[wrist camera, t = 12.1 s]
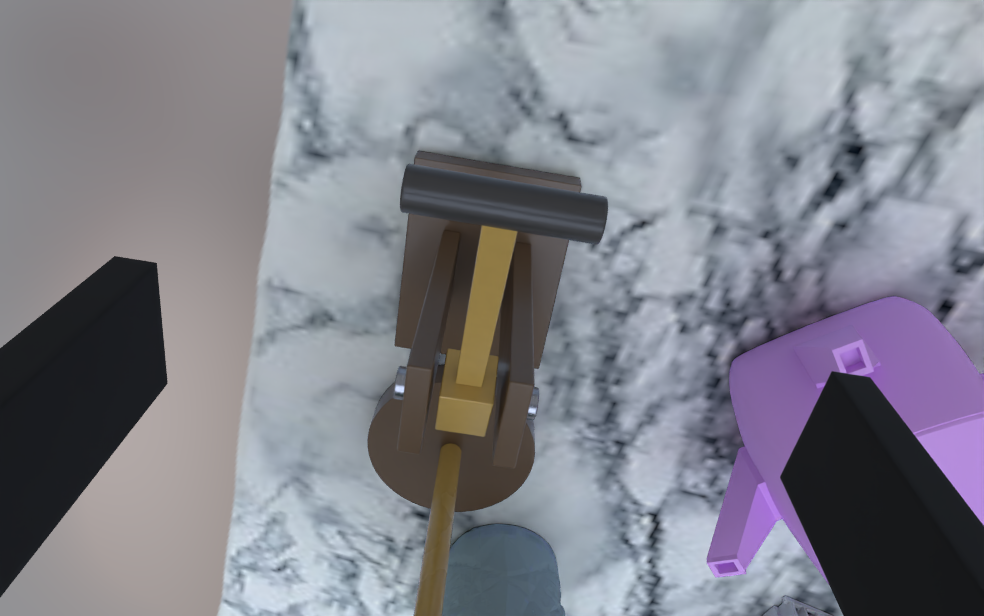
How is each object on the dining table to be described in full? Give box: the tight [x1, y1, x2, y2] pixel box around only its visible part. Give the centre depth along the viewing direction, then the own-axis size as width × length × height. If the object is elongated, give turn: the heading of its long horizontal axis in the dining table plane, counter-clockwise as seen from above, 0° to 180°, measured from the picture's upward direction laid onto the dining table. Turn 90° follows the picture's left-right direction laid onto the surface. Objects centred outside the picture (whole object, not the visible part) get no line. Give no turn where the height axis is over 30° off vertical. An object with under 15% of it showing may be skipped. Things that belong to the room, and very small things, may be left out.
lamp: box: [368, 365, 535, 616], centre depth 34 cm, size 13×13×28 cm
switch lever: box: [400, 164, 608, 437], centre depth 25 cm, size 13×6×2 cm, turn 172°
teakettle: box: [707, 296, 984, 584], centre depth 39 cm, size 17×17×12 cm
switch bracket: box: [393, 151, 582, 469], centre depth 34 cm, size 12×9×15 cm
